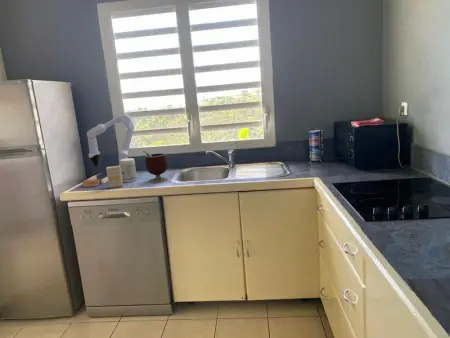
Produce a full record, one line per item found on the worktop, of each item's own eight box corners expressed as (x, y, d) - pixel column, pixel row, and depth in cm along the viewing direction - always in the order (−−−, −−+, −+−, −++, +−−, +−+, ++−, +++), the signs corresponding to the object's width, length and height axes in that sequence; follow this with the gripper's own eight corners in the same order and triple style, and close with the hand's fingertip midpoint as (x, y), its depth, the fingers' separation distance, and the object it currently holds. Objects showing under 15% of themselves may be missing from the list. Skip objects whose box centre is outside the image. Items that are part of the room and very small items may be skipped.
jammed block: (86, 184, 237) (85, 179, 236) (99, 184, 236) (98, 179, 235) (83, 186, 232) (82, 181, 231) (96, 186, 231) (95, 180, 230)
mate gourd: (172, 177, 239) (169, 148, 235) (163, 183, 227) (159, 152, 222) (152, 177, 244) (148, 149, 240) (141, 183, 231) (137, 152, 227)
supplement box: (123, 185, 229) (120, 165, 226) (122, 187, 224) (119, 166, 222) (110, 186, 228) (107, 166, 225) (108, 188, 223) (105, 168, 221)
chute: (94, 179, 254) (94, 175, 254) (112, 177, 253) (111, 174, 253) (84, 184, 239) (84, 181, 238) (103, 183, 238) (103, 179, 237)
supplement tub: (119, 181, 241) (116, 160, 238) (132, 178, 247) (129, 157, 244) (127, 183, 234) (124, 161, 231) (139, 180, 241) (137, 158, 238)
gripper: (92, 145, 257) (94, 164, 260) (83, 148, 243) (86, 168, 245) (101, 145, 256) (104, 163, 259) (93, 148, 242) (96, 167, 245)
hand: (96, 165), depth 252 cm, fingers closed
